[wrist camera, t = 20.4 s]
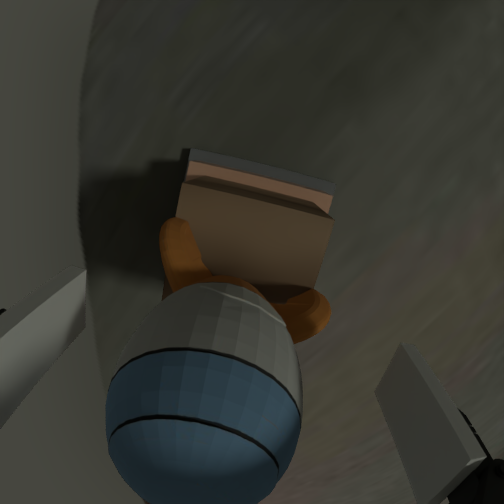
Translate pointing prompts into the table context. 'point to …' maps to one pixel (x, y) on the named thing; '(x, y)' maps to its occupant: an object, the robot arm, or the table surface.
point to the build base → (260, 169)
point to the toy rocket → (209, 385)
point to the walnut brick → (255, 235)
